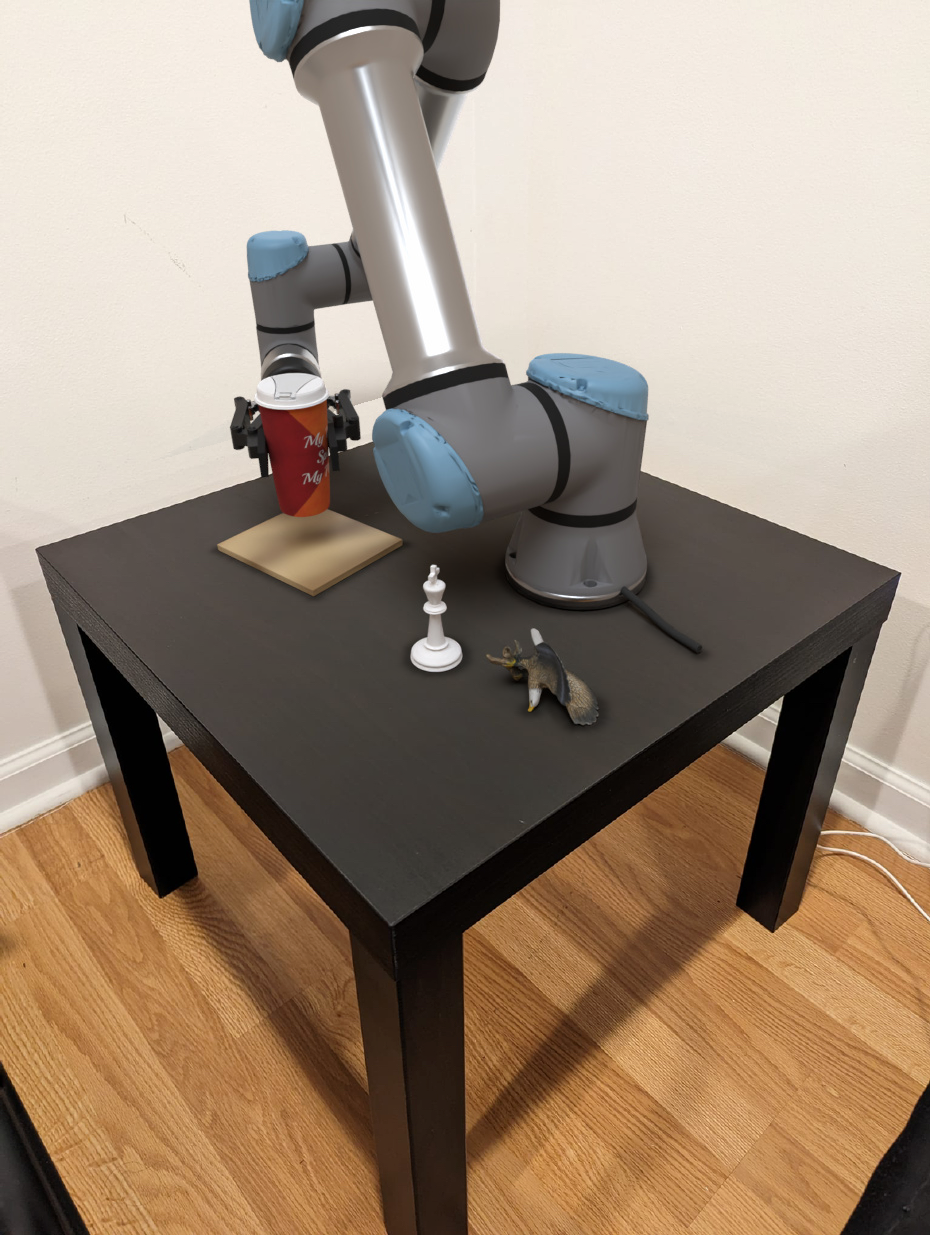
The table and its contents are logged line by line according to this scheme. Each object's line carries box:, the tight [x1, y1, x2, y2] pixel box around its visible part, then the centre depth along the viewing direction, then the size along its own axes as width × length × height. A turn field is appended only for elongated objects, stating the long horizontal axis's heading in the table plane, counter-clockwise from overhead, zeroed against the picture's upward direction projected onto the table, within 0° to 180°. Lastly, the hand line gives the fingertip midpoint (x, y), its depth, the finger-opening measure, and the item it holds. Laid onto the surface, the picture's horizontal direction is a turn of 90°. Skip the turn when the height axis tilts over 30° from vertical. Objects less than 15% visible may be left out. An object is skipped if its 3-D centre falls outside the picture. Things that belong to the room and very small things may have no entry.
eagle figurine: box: [485, 627, 600, 726], centre depth 76 cm, size 8×7×9 cm
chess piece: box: [410, 564, 463, 673], centre depth 80 cm, size 5×5×10 cm
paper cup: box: [253, 373, 331, 517], centre depth 93 cm, size 8×8×14 cm
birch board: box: [216, 508, 404, 597], centre depth 100 cm, size 16×14×1 cm
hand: (299, 461), depth 89 cm, fingers closed on paper cup, 7 cm apart
